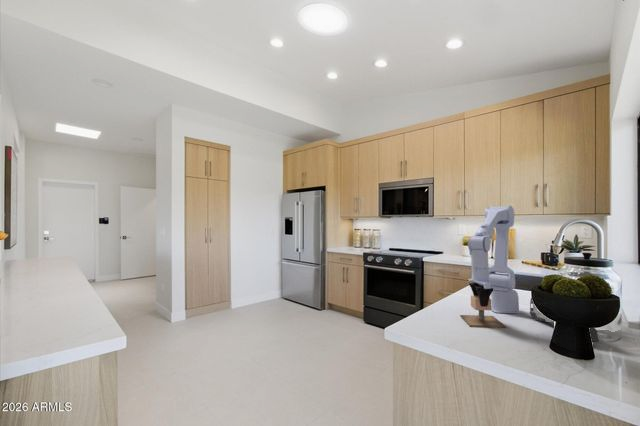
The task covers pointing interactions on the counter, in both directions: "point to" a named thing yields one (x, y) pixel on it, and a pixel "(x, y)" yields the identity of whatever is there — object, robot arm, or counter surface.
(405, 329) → the counter surface
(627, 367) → the counter surface
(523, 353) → the counter surface
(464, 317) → the peg stand
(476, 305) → the ring
